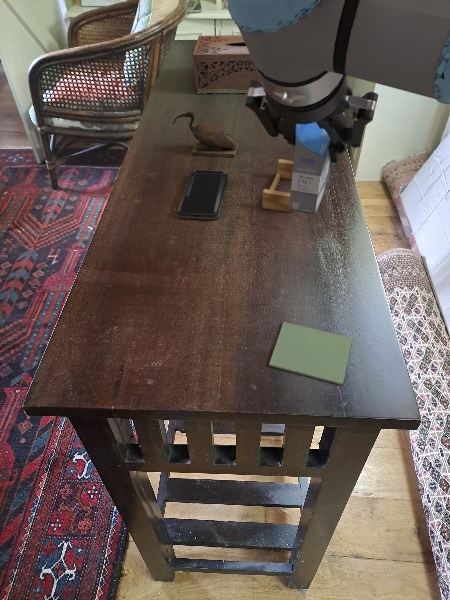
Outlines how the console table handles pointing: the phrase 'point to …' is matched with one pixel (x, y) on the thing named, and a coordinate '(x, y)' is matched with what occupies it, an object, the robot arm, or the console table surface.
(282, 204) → the tape holder
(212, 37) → the tissue box cover
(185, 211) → the phone
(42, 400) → the console table surface
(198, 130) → the figurine
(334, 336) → the felt pad
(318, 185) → the blue grey carton
